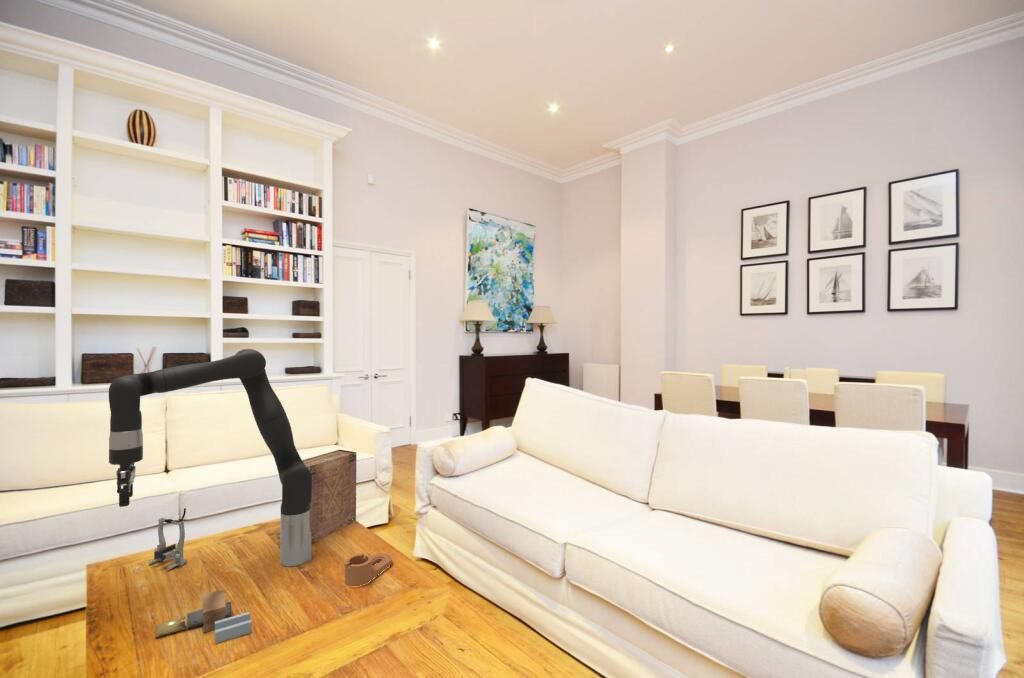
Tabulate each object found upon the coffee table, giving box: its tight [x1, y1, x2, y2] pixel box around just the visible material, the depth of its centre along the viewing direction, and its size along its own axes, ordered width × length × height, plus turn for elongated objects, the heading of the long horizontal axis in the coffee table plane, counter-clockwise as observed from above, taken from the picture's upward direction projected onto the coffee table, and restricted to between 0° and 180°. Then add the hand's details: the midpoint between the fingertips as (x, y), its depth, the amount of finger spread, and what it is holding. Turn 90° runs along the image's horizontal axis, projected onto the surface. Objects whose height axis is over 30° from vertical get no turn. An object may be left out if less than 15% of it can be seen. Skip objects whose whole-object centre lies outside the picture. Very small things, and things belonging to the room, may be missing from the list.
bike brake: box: [147, 507, 188, 571], centre depth 155 cm, size 14×7×20 cm, turn 69°
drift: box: [155, 616, 186, 639], centre depth 121 cm, size 6×3×3 cm, turn 124°
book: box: [302, 449, 357, 545], centre depth 181 cm, size 25×9×30 cm, turn 155°
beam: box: [202, 589, 226, 633], centre depth 126 cm, size 5×10×5 cm, turn 34°
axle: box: [186, 601, 233, 630], centre depth 126 cm, size 10×4×4 cm, turn 124°
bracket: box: [344, 553, 393, 587], centre depth 151 cm, size 18×8×7 cm, turn 156°
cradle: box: [214, 611, 253, 644], centre depth 121 cm, size 8×5×3 cm
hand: (126, 501), depth 133 cm, fingers open, 8 cm apart
